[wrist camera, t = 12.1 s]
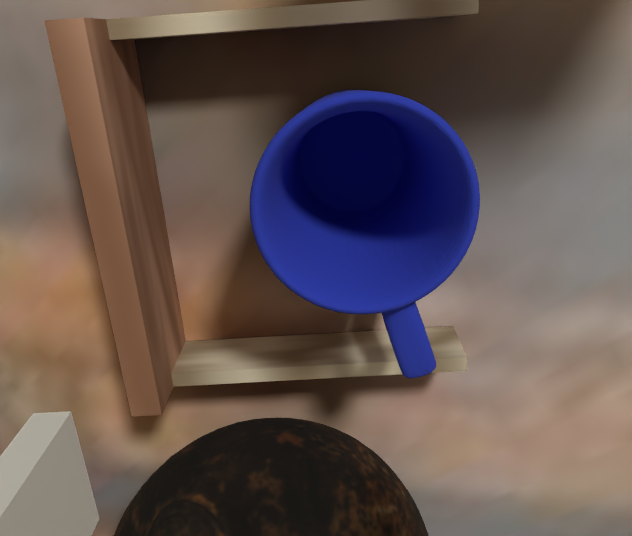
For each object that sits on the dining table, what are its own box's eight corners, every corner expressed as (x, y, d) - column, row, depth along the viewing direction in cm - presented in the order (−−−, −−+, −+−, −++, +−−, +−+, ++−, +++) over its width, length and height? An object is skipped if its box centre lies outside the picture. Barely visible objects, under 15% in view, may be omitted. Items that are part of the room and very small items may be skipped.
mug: (327, 313, 33) (330, 420, 24) (246, 108, 29) (212, 142, 20) (467, 268, 32) (527, 362, 23) (404, 48, 28) (446, 54, 19)
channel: (460, -3, 27) (496, -14, 22) (452, 338, 34) (478, 398, 28) (99, 23, 28) (44, 20, 22) (162, 354, 34) (131, 416, 29)
